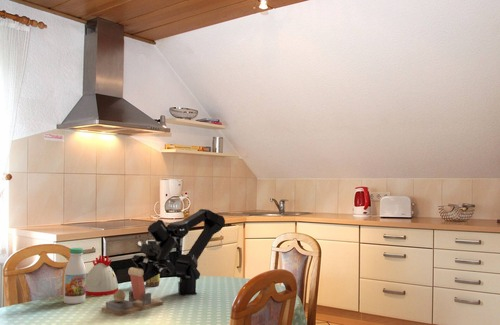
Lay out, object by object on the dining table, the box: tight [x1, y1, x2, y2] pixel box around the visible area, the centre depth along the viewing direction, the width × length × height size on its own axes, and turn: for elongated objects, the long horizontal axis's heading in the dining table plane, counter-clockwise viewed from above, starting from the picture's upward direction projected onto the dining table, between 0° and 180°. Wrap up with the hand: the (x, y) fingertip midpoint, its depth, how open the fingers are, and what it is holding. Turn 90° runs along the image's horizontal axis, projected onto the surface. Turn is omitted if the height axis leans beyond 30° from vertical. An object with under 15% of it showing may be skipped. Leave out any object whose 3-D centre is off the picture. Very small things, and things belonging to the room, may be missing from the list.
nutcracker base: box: [101, 290, 164, 317], centre depth 169 cm, size 20×10×5 cm, turn 145°
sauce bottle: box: [144, 239, 161, 287], centre depth 206 cm, size 7×6×20 cm
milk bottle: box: [62, 247, 87, 305], centre depth 176 cm, size 8×8×20 cm
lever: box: [127, 266, 147, 301], centre depth 171 cm, size 3×5×12 cm, turn 55°
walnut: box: [113, 289, 126, 302], centre depth 164 cm, size 4×4×4 cm
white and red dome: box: [85, 254, 119, 297], centre depth 192 cm, size 14×14×15 cm
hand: (140, 282), depth 172 cm, fingers closed, pressing on lever
